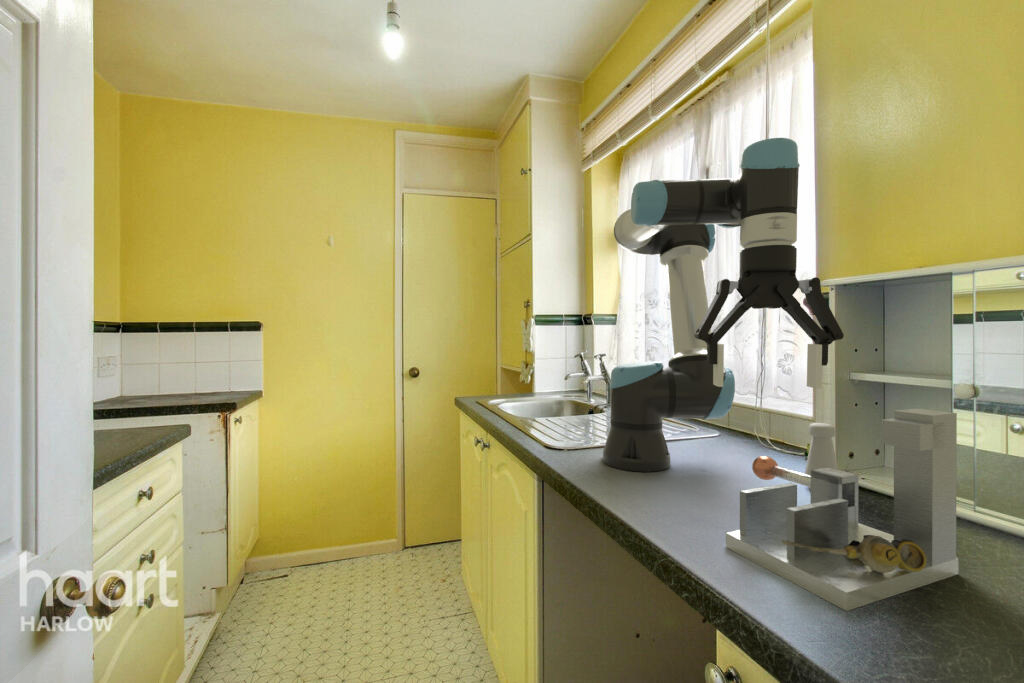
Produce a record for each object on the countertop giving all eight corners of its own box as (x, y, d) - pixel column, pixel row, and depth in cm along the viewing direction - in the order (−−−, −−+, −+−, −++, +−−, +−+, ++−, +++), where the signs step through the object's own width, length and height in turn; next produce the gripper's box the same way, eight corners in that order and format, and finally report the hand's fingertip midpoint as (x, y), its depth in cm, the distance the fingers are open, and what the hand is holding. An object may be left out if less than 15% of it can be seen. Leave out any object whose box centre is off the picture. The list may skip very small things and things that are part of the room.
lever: (746, 477, 79) (746, 454, 79) (763, 475, 80) (763, 452, 80) (832, 505, 65) (832, 478, 65) (850, 502, 67) (850, 475, 67)
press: (725, 547, 63) (726, 404, 63) (827, 524, 71) (827, 397, 71) (846, 611, 48) (847, 424, 48) (958, 574, 56) (959, 412, 56)
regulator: (793, 562, 52) (947, 581, 49) (789, 525, 53) (939, 541, 50) (771, 557, 59) (905, 573, 55) (768, 524, 60) (899, 539, 57)
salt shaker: (846, 497, 83) (847, 427, 83) (811, 495, 84) (812, 426, 84) (830, 487, 89) (831, 421, 89) (798, 485, 90) (799, 420, 90)
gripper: (686, 245, 67) (685, 388, 67) (875, 239, 62) (871, 391, 63) (676, 253, 74) (675, 382, 75) (844, 248, 70) (841, 384, 71)
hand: (765, 386), depth 69 cm, fingers open, 13 cm apart
